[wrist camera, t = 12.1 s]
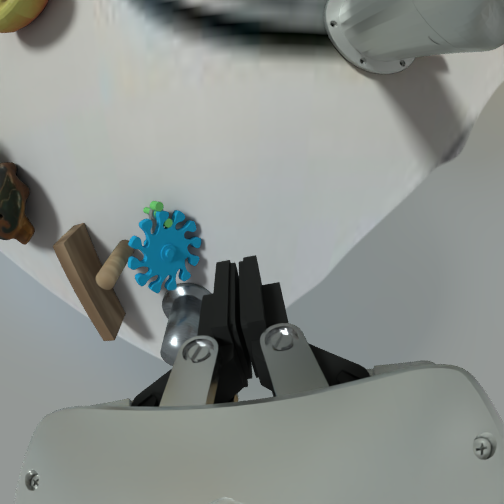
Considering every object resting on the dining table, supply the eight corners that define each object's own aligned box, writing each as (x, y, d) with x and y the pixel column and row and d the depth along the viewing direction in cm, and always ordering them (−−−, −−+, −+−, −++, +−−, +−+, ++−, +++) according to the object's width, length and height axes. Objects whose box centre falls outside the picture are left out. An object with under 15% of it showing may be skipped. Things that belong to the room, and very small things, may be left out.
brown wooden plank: (84, 222, 34) (63, 243, 29) (125, 313, 42) (114, 340, 37) (73, 225, 34) (52, 246, 29) (115, 314, 42) (104, 340, 37)
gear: (206, 279, 38) (140, 307, 31) (181, 266, 41) (120, 289, 35) (201, 194, 34) (124, 211, 27) (174, 191, 37) (106, 205, 31)
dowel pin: (130, 238, 36) (109, 270, 29) (136, 253, 37) (117, 288, 30) (115, 241, 36) (92, 273, 29) (121, 257, 37) (100, 291, 30)
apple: (52, -34, 15) (23, -49, 8) (68, 0, 19) (35, -14, 12) (5, 10, 16) (-28, 5, 9) (18, 47, 21) (-19, 45, 14)
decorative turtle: (5, 133, 27) (-29, 146, 20) (59, 206, 34) (33, 231, 27) (-21, 177, 28) (-51, 196, 22) (29, 243, 36) (5, 270, 29)
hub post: (208, 278, 40) (202, 329, 31) (222, 321, 43) (220, 372, 35) (155, 287, 40) (138, 336, 31) (173, 327, 44) (163, 377, 35)
